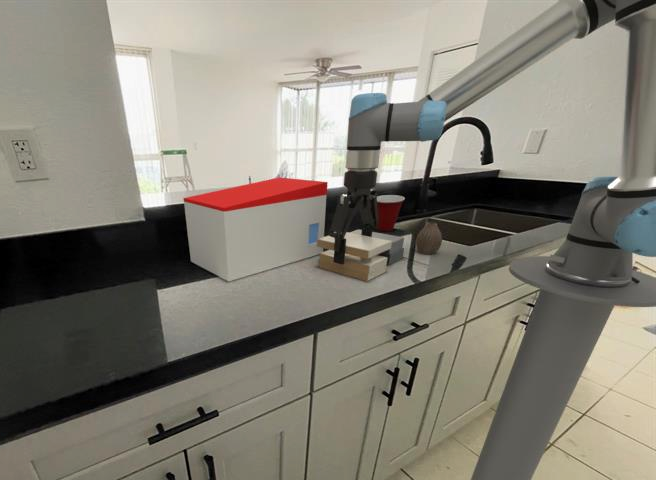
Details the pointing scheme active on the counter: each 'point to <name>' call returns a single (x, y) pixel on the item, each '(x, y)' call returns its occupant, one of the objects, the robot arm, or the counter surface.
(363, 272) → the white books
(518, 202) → the counter surface
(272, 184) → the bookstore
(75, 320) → the counter surface
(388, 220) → the plastic cup
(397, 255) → the grey books
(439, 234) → the vase
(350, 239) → the beige flat rectangular block
